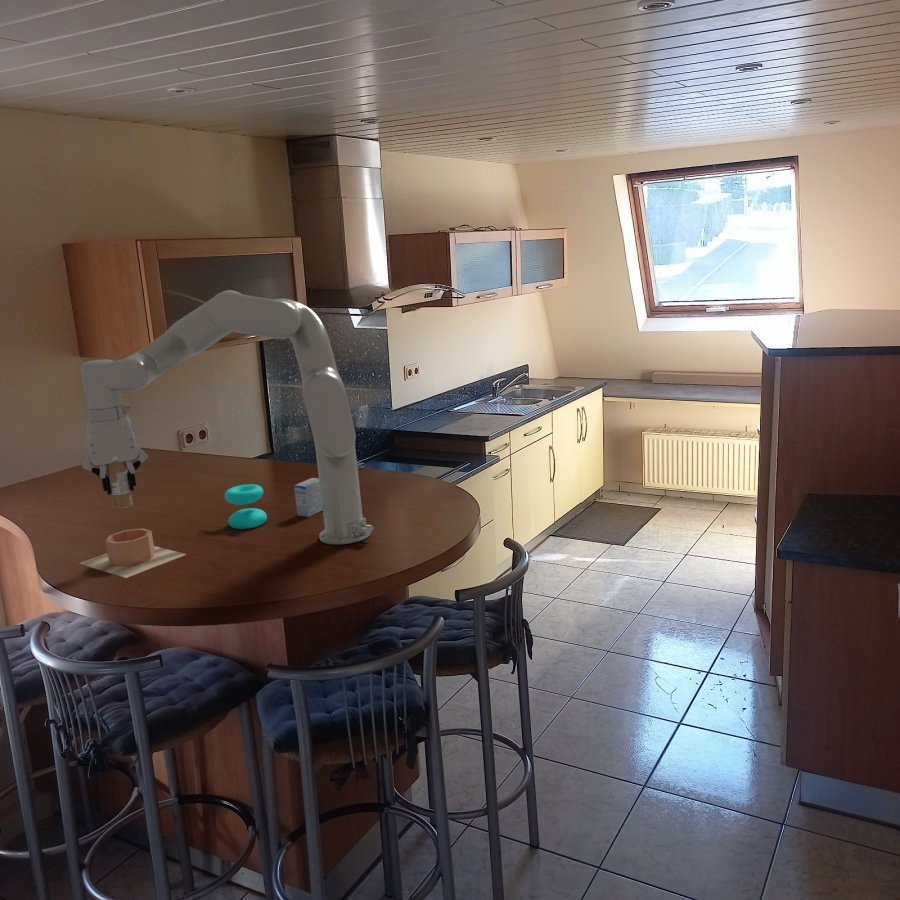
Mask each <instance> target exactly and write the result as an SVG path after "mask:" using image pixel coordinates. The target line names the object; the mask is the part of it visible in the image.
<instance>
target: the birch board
mask: <svg viewBox="0 0 900 900" xmlns="http://www.w3.org/2000/svg"><path fill="white" fill-rule="evenodd" d="M154 549H155V551H154V556H153V558H151V559H150V560H148V561H146V562H143V563H140V564H136V565H132V566H114V565H112V564H111V562H110V561H109V559H108V553H104V554H102V555H99V556H95V557H93V558H90V559H87V560H84V561H81V562H78V565H82V566H85V567H89V568H91V569H96V570H98V571H101V572H105V573H108V574H112V575H114V576H118V577H121V578H125V579H127V578H131V577H132V576H134V575H135V576H136V575H139V574H140V573H143V572H145V571H149V570H150V569H154V568H156V567H158V566H161V565H163V564H166V563H169V562H172V561H173V560H176V559H179V558H181V557H184V556H187V553H183V552H179V551H175V550H170V549H167V548H163V547H159V546H155V545H154Z"/></svg>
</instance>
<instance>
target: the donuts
mask: <svg viewBox="0 0 900 900" xmlns="http://www.w3.org/2000/svg"><path fill="white" fill-rule="evenodd" d="M263 495H264V489H263V486H261V485H258V484H253V483H252V484H249V483H248V484H239V485H236V486H232V487H231V488H228V489H227V490H226V491H225V493H224V498H225V500H226V501H227V502H228V503H230V504H233V505H247V504H248V505H249V504H252V503H255V502H257V501H259V500H260V499H261V498H262V497H263ZM267 519H268V515H267V513H266V512H265V511H264V510H262V509H259V508H257V507H256V508H255V507H253V508H252V507H250V508H242V509H239V510H237V511H234V512H233V513H232V514H231V515H230V516H229V517H228V521H227V522H228V525H229V526H230V527H231V528H233V529H235V530H236V529H237V530H245V529H247V530H249V529H253V528H257V527H259V526H262V525H264V523H265V522H267Z"/></svg>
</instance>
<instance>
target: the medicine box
mask: <svg viewBox="0 0 900 900" xmlns="http://www.w3.org/2000/svg"><path fill="white" fill-rule="evenodd" d="M293 488H294V489H293V490H294V497H295V504H296V513H297V516H300V517H307V518H310V517H312V516H314V515H316V514H319V513H320V512H323V509H322V500H321V492H320V483H319V477H311V478H308V479H306V480H304V481H301V482H299V483H297V484H295V485H294V486H293Z"/></svg>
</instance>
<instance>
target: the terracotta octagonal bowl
mask: <svg viewBox="0 0 900 900" xmlns="http://www.w3.org/2000/svg"><path fill="white" fill-rule="evenodd" d="M154 543H155V542H154V539H153V533H152V530H151V529H146V528H134V529H133V528H132V529H125V530H122V531H120V532H115V533H113V534H110V535H109V536H108V537H107V538H106V539H105V547H106V552H107V553H108V559H109V561H110V562H111V564H112V565H114V566H132V565H136V564H140V563H143V562H146V561H148V560H150V559H151V558H153V556H154V551H155V549H154V546H155V544H154Z"/></svg>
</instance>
